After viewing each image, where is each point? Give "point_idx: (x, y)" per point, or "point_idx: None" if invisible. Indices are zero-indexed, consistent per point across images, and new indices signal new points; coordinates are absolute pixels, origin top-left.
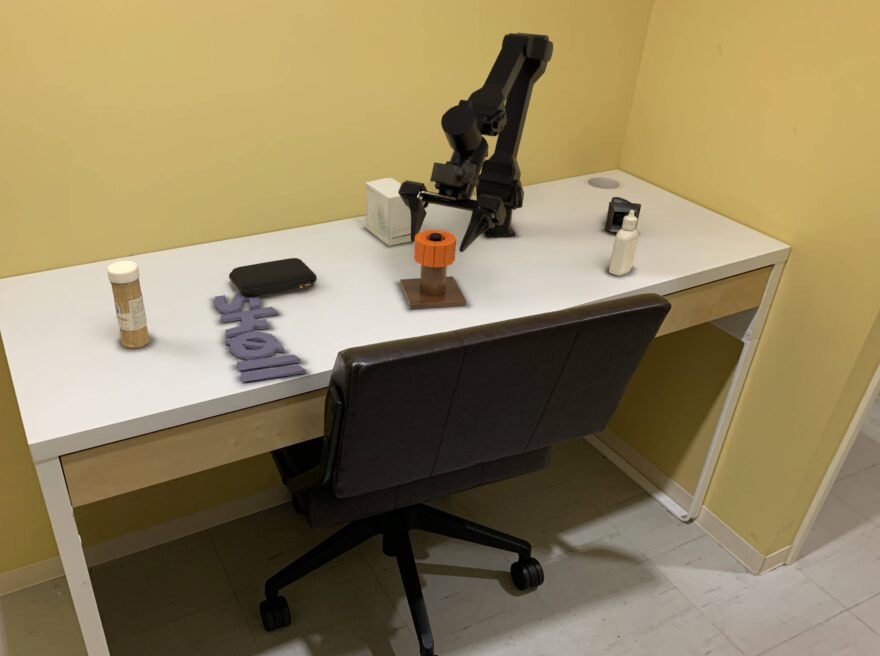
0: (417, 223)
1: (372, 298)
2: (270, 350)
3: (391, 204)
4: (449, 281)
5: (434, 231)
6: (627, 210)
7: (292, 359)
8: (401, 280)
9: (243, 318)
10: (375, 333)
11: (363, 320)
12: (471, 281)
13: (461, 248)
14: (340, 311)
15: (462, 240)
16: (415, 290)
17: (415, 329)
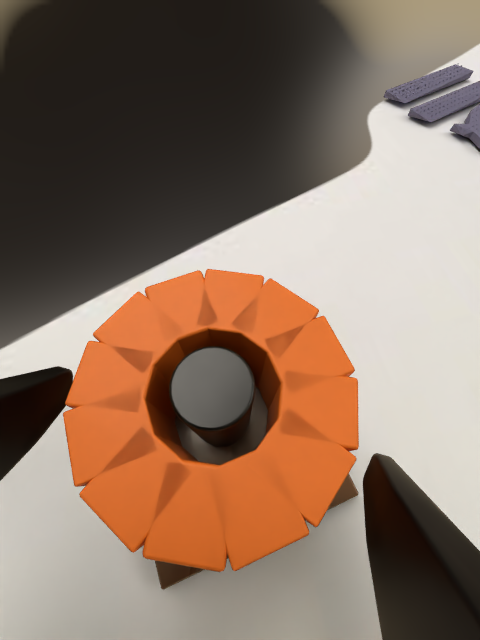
0: (425, 588)
1: (396, 367)
2: (473, 117)
3: None
4: None
5: (238, 515)
6: None
7: (422, 105)
8: (351, 484)
9: None
10: (320, 215)
11: (367, 256)
12: (89, 603)
13: (54, 367)
14: (440, 281)
15: (22, 384)
16: None
17: (240, 245)
